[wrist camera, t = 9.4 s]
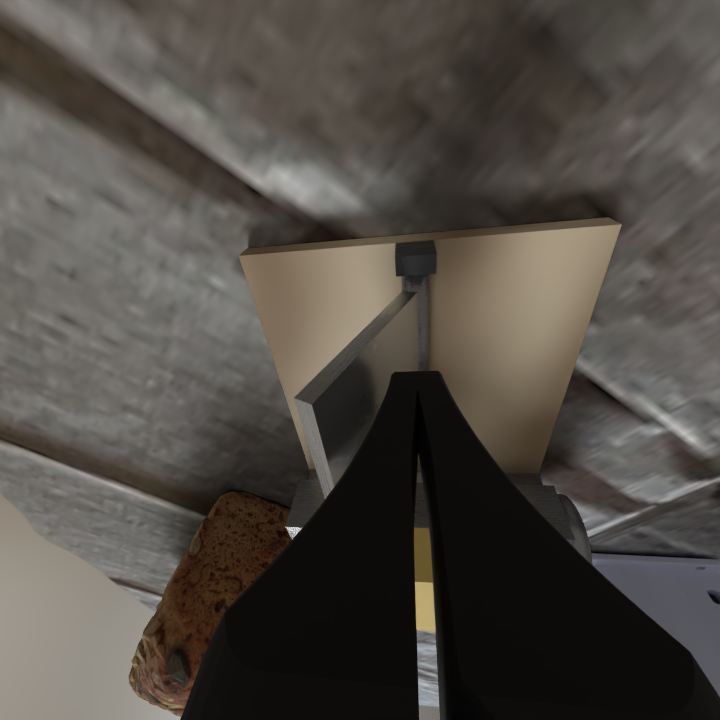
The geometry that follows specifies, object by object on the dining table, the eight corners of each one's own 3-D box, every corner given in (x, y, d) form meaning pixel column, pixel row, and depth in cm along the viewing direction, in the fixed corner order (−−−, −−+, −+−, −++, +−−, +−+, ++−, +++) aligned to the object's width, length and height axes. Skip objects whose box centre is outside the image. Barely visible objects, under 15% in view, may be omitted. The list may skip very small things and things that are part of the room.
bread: (219, 475, 22) (115, 686, 14) (363, 528, 24) (344, 735, 16) (176, 568, 32) (103, 718, 24) (279, 599, 35) (242, 745, 27)
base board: (608, 216, 10) (621, 224, 10) (518, 510, 20) (522, 523, 20) (247, 248, 12) (238, 255, 12) (327, 504, 22) (324, 515, 22)
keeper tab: (408, 262, 11) (433, 264, 11) (411, 388, 14) (431, 393, 14) (279, 373, 7) (313, 385, 7) (326, 516, 10) (350, 530, 10)
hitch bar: (636, 215, 10) (805, 289, 6) (535, 501, 20) (572, 611, 15) (247, 248, 12) (163, 323, 8) (324, 495, 22) (304, 591, 17)
